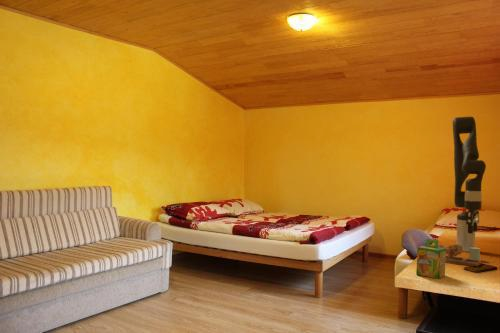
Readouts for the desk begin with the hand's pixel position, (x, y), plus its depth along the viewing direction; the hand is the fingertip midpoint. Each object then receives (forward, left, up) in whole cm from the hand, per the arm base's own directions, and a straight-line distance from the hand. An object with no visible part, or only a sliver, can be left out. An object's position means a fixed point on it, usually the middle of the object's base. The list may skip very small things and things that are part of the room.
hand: (472, 232), depth 212 cm
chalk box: (+51, -5, -14) cm, 53 cm away
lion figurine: (+11, -9, -13) cm, 20 cm away
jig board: (+12, -5, -14) cm, 19 cm away
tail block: (0, +1, -14) cm, 14 cm away
